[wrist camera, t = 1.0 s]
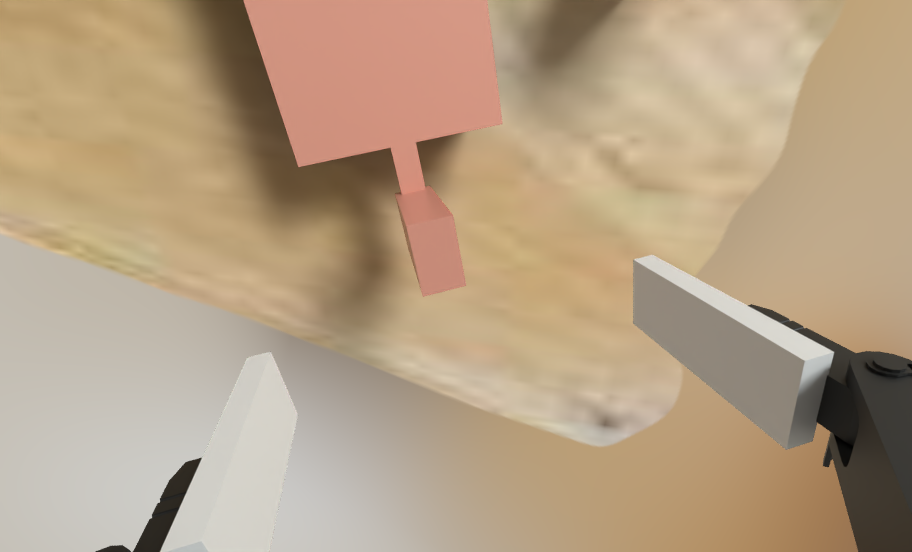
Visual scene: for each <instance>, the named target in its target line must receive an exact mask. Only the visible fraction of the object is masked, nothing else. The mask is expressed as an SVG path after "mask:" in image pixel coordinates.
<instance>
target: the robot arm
mask: <svg viewBox="0 0 912 552" xmlns="http://www.w3.org/2000/svg"><path fill="white" fill-rule="evenodd" d="M633 324H635V325H636V326H637V327H638V328H639V329H641V330H642V331H643V332H644V333H645V334H647V335H648V336H649V337H650V338H652V339H653V340H654V341H655V342H656V343H658V344H659V345H660V346H661V347H662V348H664V349H665V350H666V351H667V352H668V353H670V354H671V355H672V356H673V357H675V358H676V359H677V360H678V361H679V362H681V363H682V364H683V365H684V366H685V367H687V368H688V369H689V370H690V371H692V372H693V373H694V374H695V375H696V376H698V377H699V378H700V379H701V380H702V381H704V382H705V383H706V384H707V385H708V386H710V387H711V388H712V389H713V390H714V391H716V392H717V393H718V394H719V395H721V396H722V397H723V398H724V399H725V400H727V401H728V402H729V403H730V404H732V405H733V406H734V407H735V408H736V409H738V410H739V411H740V412H741V413H742V414H744V415H745V416H746V417H747V418H748V419H750V420H751V421H752V422H753V423H754V424H756V425H757V426H758V427H759V428H761V429H762V430H763V431H764V432H765V433H767V434H768V435H769V436H770V437H772V438H773V439H774V440H775V441H776V442H777V443H779V444H780V445H781V446H782V447H784V448H785V449H786V450H787V449H790V448H793V447H796V446H799V445H802V444H805V443H808V442H812V441H813V438H814V433H815V429H816V425H817V422H818V423H819V424H821V425H822V426H823V427H825V428H826V429H827V430H829V431H830V432H831V433H830V437H829V441H828V445H827V449H826V452H825V456H824V460H823V466H825V467H829V465H830V461H831V460H832V459H833V461H834V465H835V468H836V472H837V475H838V479H839V483H840V486H841V490H842V494H843V497H844V501H845V505H846V508H847V512H848V515H849V519H850V523H851V526H852V530H853V533H854V537H855V541H856V544H857V548H858V552H912V361H911V360H909V359H906V358H903V357H900V356H897V355H894V354H889V353H883V352H871V351H866V352H861V353H854V352H852V351H850V350H848V349H847V348H845V347H843V346H841V345H839V344H837V343H835V342H833V341H831V340H829V339H827V338H825V337H823V336H821V335H819V334H817V333H815V332H813V331H811V330H809V329H807V328H805V329H804V328H803V326H801V325H800V324H798V323H796V322H794V321H790V320H789V319H788V318H786V317H784V316H782V315H780V314H778V313H776V312H774V311H773V310H769V309H766V308H762V307H759V306H755V305H752V304H751V305H748V306H747V305H745V304H743V303H741V302H739V301H738V300H736V299H734V298H732V297H730V296H728V295H726V294H725V293H723V292H721V291H719V290H717V289H715V288H713V287H712V286H710V285H708V284H706V283H704V282H702V281H700V280H698V279H697V278H695V277H693V276H691V275H689V274H687V273H685V272H683V271H682V270H680V269H678V268H676V267H674V266H672V265H670V264H669V263H667V262H665V261H663V260H661V259H659V258H657V257H655V256H654V255H650V256H646V257H642V258H638V259H634V260H633ZM297 417H298V414H297V412H296V409H295V407H294V404H293V402H292V400H291V397H290V395H289V393H288V391H287V388H286V386H285V383H284V381H283V379H282V377H281V374H280V372H279V369H278V367H277V365H276V362H275V360H274V358H273V355H272V353H271V352H268V353H264V354H260V355H256V356H252V357H248V358H247V359H246V362H245V364H244V366H243V368H242V371H241V373H240V375H239V377H238V379H237V382H236V384H235V386H234V388H233V391H232V393H231V395H230V397H229V399H228V402H227V404H226V406H225V408H224V411H223V413H222V415H221V417H220V419H219V422H218V424H217V426H216V428H215V430H214V433H213V435H212V437H211V439H210V442H209V444H208V446H207V448H206V451H205V453H204V455H203V457H202V458H199V459H196V460H192V461H188V462H186V463H185V464H184V465H183V466H182V467H181V468H180V469H179V470H178V472H177V473H176V474H175V475H174V476H173V477H172V478H171V479H170V480H169V482H168V484H167V486H166V488H165V490H164V492H163V494H162V496H161V498H160V503H158V504H157V506H156V508H155V510H154V512H153V514H152V518H151V519H150V520H149V522H148V523H147V525H146V527H145V529H144V531H143V533H142V535H141V537H140V539H139V541H138V543H137V545H136V547H135V549H134V551H133V552H270V547H271V542H272V537H273V532H274V527H275V523H276V518H277V513H278V508H279V503H280V499H281V494H282V489H283V484H284V480H285V475H286V469H287V465H288V460H289V455H290V450H291V446H292V441H293V436H294V431H295V426H296V421H297ZM96 552H131V551H130V550H129V549H127V548H126V547H124V546H123V545H119V546H109V547H107V548H104V549H101V550H99V551H96Z"/></svg>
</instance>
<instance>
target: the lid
mask: <svg viewBox="0 0 912 552" xmlns="http://www.w3.org/2000/svg"><path fill="white" fill-rule="evenodd" d="M243 1H244V4H245V7H246V10H247V13H248V16H249V19H250V22H251V25H252V28H253V31H254V34H255V37H256V40H257V43H258V46H259V49H260V52H261V55H262V58H263V61H264V64H265V67H266V70H267V74H268V77H269V80H270V83H271V86H272V89H273V92H274V95H275V98H276V101H277V104H278V107H279V110H280V113H281V116H282V119H283V122H284V125H285V128H286V131H287V134H288V137H289V140H290V143H291V146H292V149H293V152H294V155H295V158H296V161H297V164H298V167H301V166H306V165H311V164H316V163H320V162H325V161H330V160H334V159H339V158H344V157H349V156H353V155H358V154H363V153H367V152H372V151H377V150H382V149H386V148H391V153H392V157H393V161H394V165H395V170H396V174H397V178H398V182H399V187H400V191H401V192H399V193H395V196H396V200H397V204H398V208H399V212H400V216H401V221H402V225H403V229H404V233H405V237H406V241H407V245H408V249H409V253H410V256H411V259H412V262H413V266H414V269H415V272H416V275H417V279H418V282H419V285H420V288H421V292H422V295H423V296H427V295H431V294H435V293H439V292H443V291H447V290H451V289H455V288H459V287H463V286H466V282H465V277H464V271H463V266H462V261H461V255H460V250H459V245H458V239H457V234H456V229H455V223H454V218H453V215H452V213H451V212H450V211H449V209H448V208H447V207H446V206H445V204H444V203H443V202H442V200H441V199H440V198H439V197H438V195H437V194H436V193H435V192H434V190H433V189H432V188H431V186H426V187H425V183H424V179H423V174H422V169H421V164H420V160H419V155H418V150H417V145H416V142H419V141H424V140H429V139H434V138H438V137H443V136H448V135H453V134H457V133H462V132H467V131H471V130H476V129H481V128H486V127H490V126H495V125H500V124H502V116H501V108H500V100H499V92H498V84H497V76H496V68H495V60H494V52H493V44H492V36H491V28H490V20H489V12H488V4H487V0H243Z"/></svg>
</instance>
